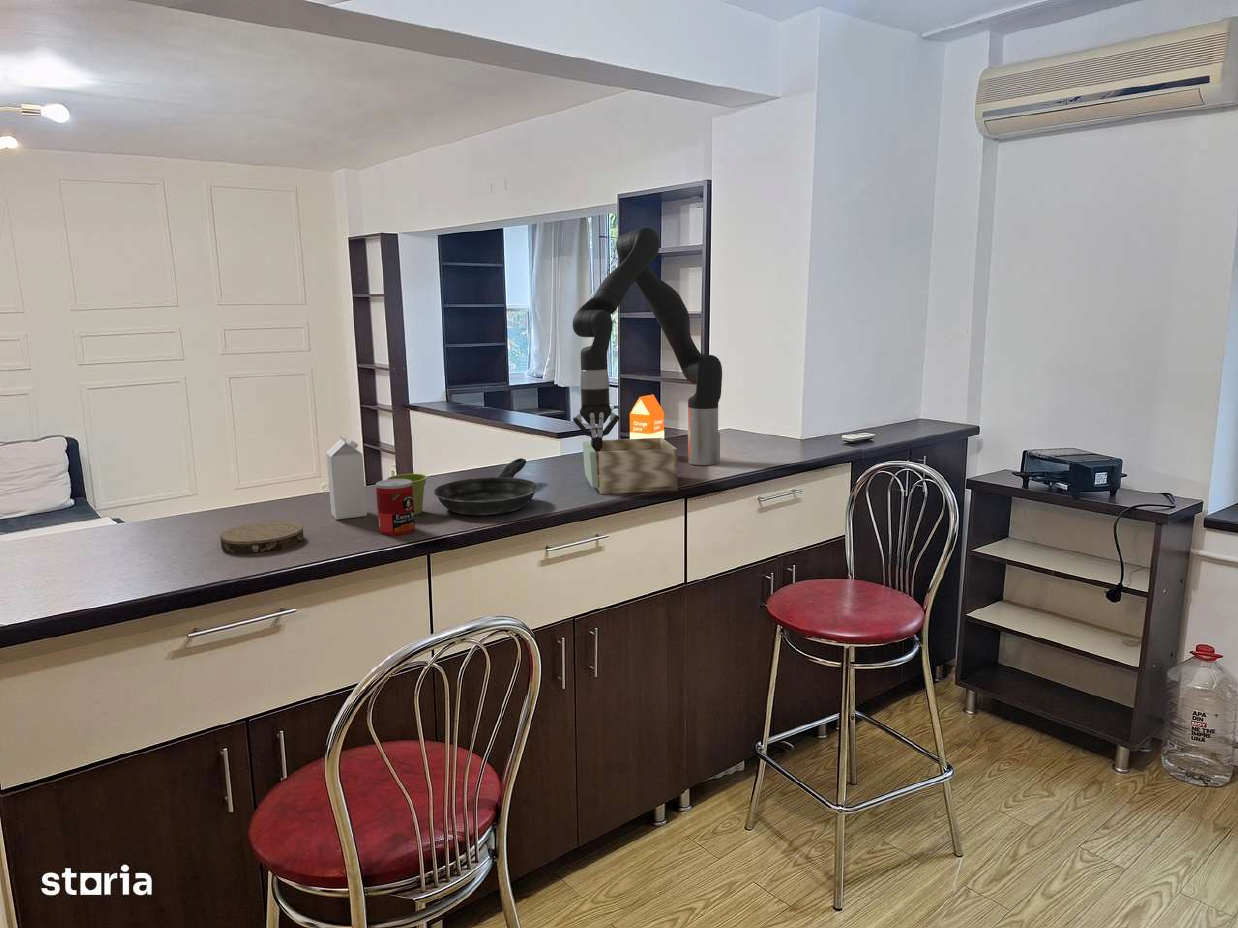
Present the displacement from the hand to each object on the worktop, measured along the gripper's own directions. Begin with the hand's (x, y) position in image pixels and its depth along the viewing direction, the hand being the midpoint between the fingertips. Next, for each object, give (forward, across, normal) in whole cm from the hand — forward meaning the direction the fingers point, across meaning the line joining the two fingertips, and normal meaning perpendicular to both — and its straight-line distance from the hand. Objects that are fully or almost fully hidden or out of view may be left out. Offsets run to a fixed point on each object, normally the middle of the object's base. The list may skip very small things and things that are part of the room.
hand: (597, 450), depth 220 cm
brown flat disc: (+9, +76, +40) cm, 86 cm away
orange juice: (+10, -21, -39) cm, 46 cm away
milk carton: (+9, +62, +19) cm, 66 cm away
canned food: (+9, +49, +36) cm, 62 cm away
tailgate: (+8, +1, 0) cm, 8 cm away
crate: (+10, -9, 0) cm, 13 cm away
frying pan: (+10, +28, +11) cm, 31 cm away
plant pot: (+9, +48, +20) cm, 53 cm away
